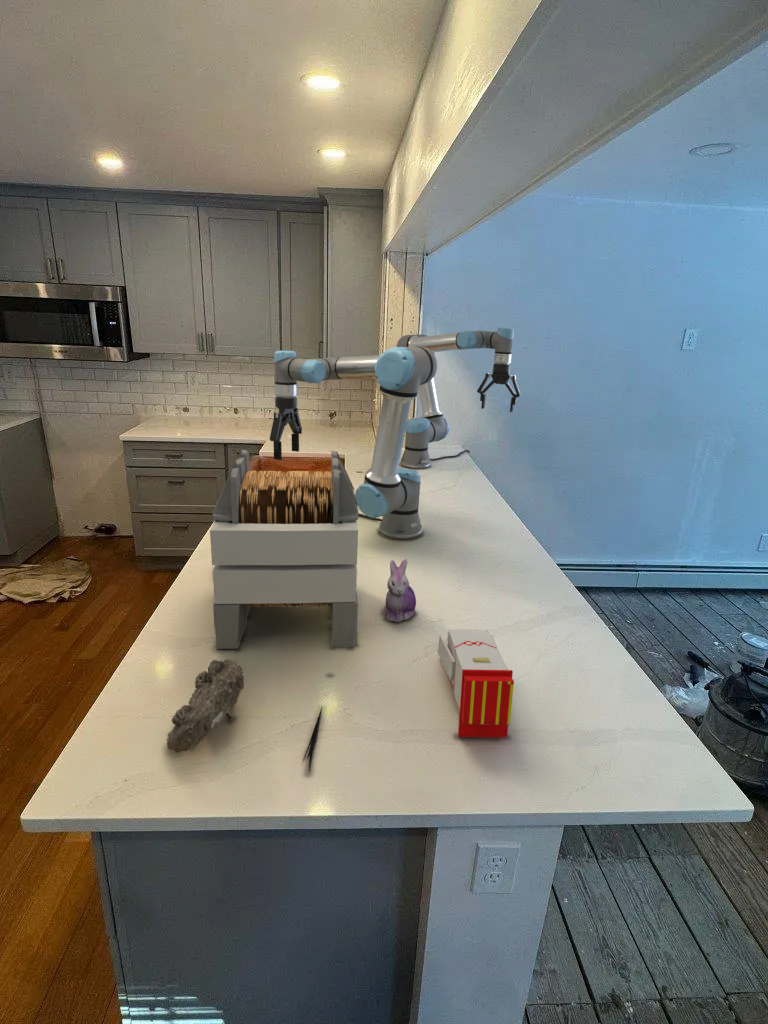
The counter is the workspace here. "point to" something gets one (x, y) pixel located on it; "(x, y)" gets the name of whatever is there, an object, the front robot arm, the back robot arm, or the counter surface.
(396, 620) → the figurine
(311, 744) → the feather
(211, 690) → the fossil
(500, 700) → the toy
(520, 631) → the counter surface
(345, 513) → the record crate
